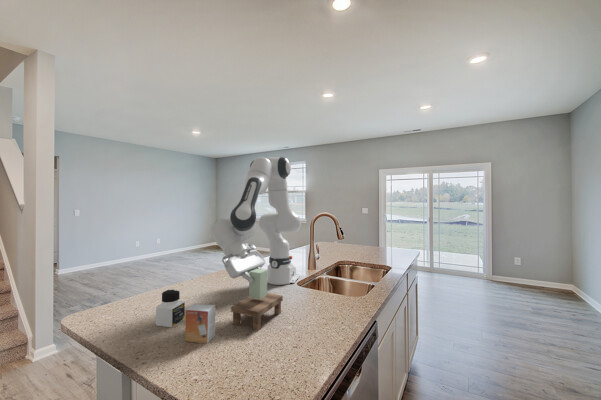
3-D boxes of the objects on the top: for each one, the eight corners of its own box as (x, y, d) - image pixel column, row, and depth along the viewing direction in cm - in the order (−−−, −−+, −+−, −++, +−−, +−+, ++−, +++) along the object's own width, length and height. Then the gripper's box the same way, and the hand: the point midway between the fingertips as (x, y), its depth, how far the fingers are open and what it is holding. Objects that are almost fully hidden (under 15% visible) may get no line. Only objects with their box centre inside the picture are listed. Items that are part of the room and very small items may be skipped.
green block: (256, 293, 108) (256, 268, 108) (267, 295, 106) (267, 270, 106) (249, 297, 103) (249, 271, 104) (260, 299, 101) (260, 273, 101)
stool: (258, 307, 115) (258, 291, 115) (282, 312, 110) (282, 295, 110) (230, 325, 99) (231, 306, 99) (258, 331, 94) (258, 312, 94)
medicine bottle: (172, 327, 97) (172, 294, 97) (155, 325, 98) (155, 293, 98) (184, 319, 104) (185, 288, 104) (168, 317, 105) (169, 287, 105)
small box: (184, 342, 87) (184, 309, 87) (193, 333, 93) (193, 303, 93) (207, 344, 86) (207, 311, 86) (215, 335, 92) (215, 304, 92)
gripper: (224, 252, 99) (246, 282, 95) (256, 244, 117) (275, 269, 113) (215, 262, 100) (236, 292, 96) (247, 253, 119) (266, 278, 115)
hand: (257, 279), depth 105 cm, fingers closed on green block, 5 cm apart
